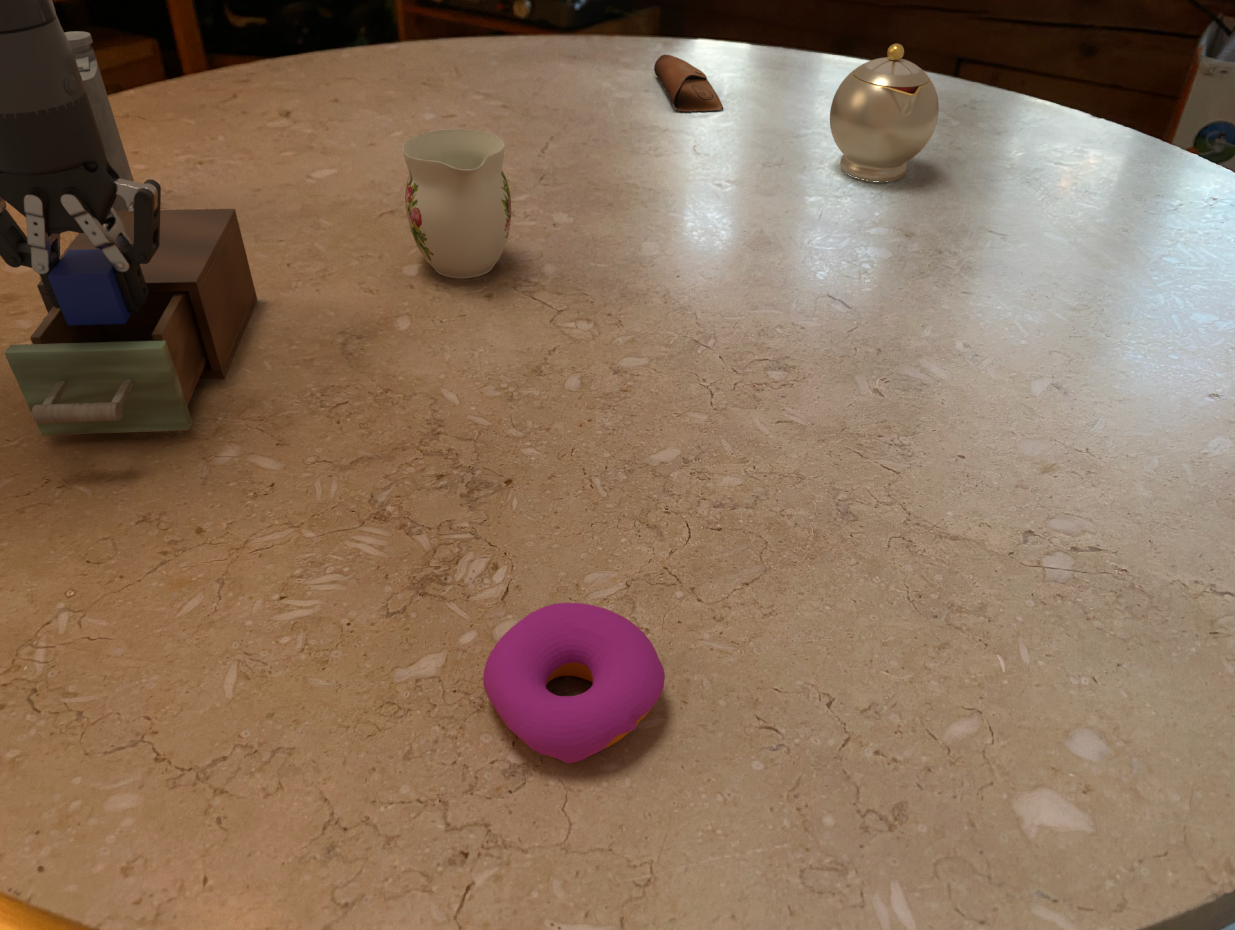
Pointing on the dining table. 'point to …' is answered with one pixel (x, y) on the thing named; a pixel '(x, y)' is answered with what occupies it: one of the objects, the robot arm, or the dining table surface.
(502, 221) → the pitcher
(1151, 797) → the dining table surface
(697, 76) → the sunglasses case
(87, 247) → the cabinet
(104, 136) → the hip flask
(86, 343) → the compartment
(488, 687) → the donut
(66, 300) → the navy blue cube
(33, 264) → the robot arm
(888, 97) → the teapot
